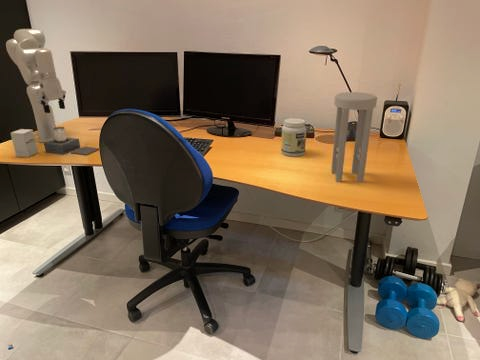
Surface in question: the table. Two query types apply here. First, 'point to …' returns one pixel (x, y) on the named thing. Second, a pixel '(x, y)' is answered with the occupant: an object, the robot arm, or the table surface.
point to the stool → (365, 107)
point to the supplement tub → (293, 137)
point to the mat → (85, 150)
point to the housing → (62, 146)
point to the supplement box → (24, 143)
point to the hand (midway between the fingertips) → (55, 110)
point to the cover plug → (60, 134)
